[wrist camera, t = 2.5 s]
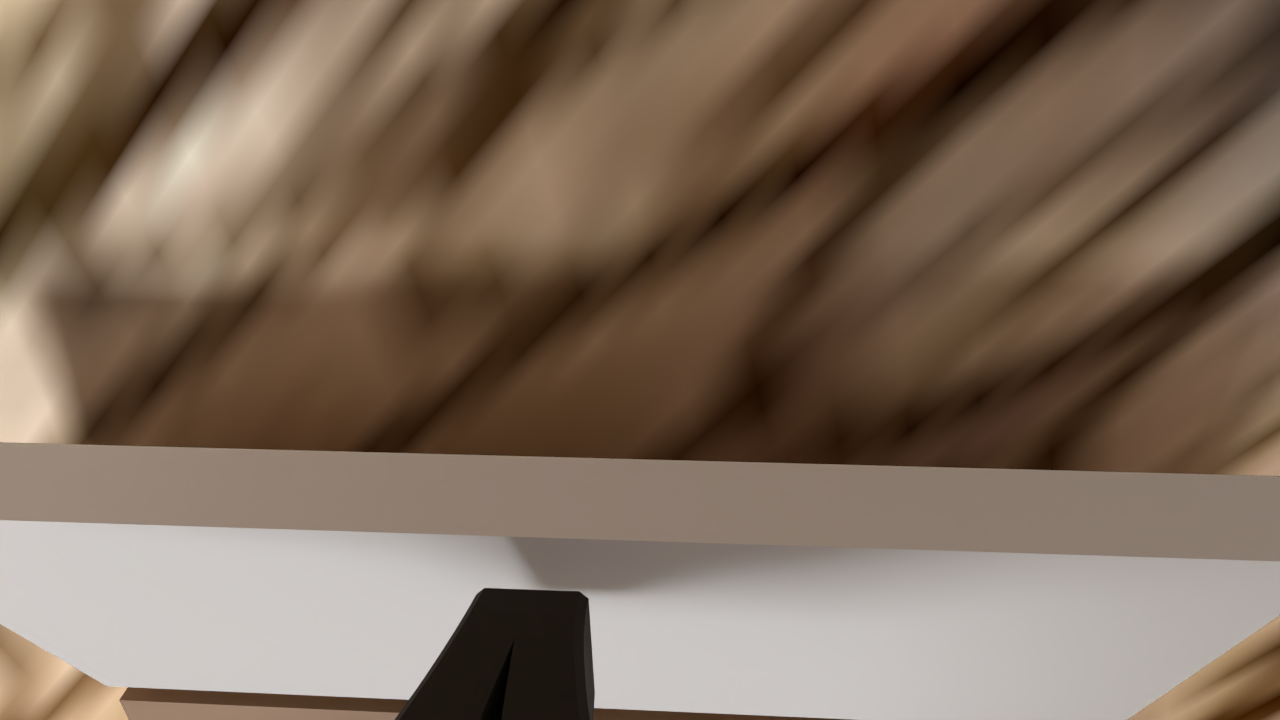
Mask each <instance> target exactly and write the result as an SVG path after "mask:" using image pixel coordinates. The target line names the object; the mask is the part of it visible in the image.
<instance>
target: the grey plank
mask: <svg viewBox="0 0 1280 720" xmlns="http://www.w3.org/2000/svg"><path fill="white" fill-rule="evenodd" d="M484 588H500V589H528V590H556V591H580V592H581V593H582V594H584V595H585V596H586V597H587V598H589V612H590V627H591V642H592V658H593V673H594V688H595V699H594V708H604V709H627V710H649V711H672V712H694V713H717V714H739V715H762V716H784V717H806V718H829V719H851V720H1127V719H1129V718H1130V717H1132V716H1133V715H1135V714H1136V713H1138V712H1139V711H1141V710H1142V709H1144V708H1145V707H1146V706H1148V705H1149V704H1151V703H1152V702H1154V701H1155V700H1157V699H1158V698H1160V697H1161V696H1163V695H1164V694H1166V693H1167V692H1168V691H1170V690H1171V689H1173V688H1174V687H1176V686H1177V685H1179V684H1180V683H1182V682H1183V681H1185V680H1186V679H1187V678H1189V677H1190V676H1192V675H1193V674H1195V673H1196V672H1198V671H1199V670H1201V669H1202V668H1204V667H1205V666H1206V665H1208V664H1209V663H1211V662H1212V661H1214V660H1215V659H1217V658H1218V657H1220V656H1221V655H1223V654H1224V653H1225V652H1227V651H1228V650H1230V649H1231V648H1233V647H1234V646H1236V645H1237V644H1239V643H1240V642H1242V641H1243V640H1244V639H1246V638H1247V637H1249V636H1250V635H1252V634H1253V633H1255V632H1256V631H1258V630H1259V629H1261V628H1262V627H1264V626H1265V625H1266V624H1268V623H1269V622H1271V621H1272V620H1274V619H1275V618H1277V617H1278V616H1280V476H1255V475H1217V474H1179V473H1141V472H1103V471H1065V470H1028V469H990V468H952V467H914V466H876V465H838V464H800V463H762V462H724V461H686V460H648V459H610V458H572V457H535V456H497V455H459V454H421V453H383V452H345V451H307V450H269V449H231V448H193V447H155V446H117V445H79V444H42V443H4V442H0V624H1V625H3V626H5V627H6V628H8V629H10V630H12V631H13V632H15V633H17V634H18V635H20V636H22V637H24V638H25V639H27V640H29V641H30V642H32V643H34V644H36V645H37V646H39V647H41V648H42V649H44V650H46V651H48V652H49V653H51V654H53V655H54V656H56V657H58V658H60V659H61V660H63V661H65V662H66V663H68V664H70V665H72V666H73V667H75V668H77V669H78V670H80V671H82V672H84V673H85V674H87V675H89V676H90V677H92V678H94V679H96V680H97V681H99V682H101V683H102V684H104V685H106V686H111V687H133V688H156V689H178V690H201V691H223V692H245V693H268V694H290V695H313V696H335V697H358V698H380V699H403V700H409V699H410V697H411V696H412V694H413V693H414V692H415V690H416V689H417V687H418V686H419V685H420V683H421V682H422V680H423V679H424V677H425V676H426V674H427V673H428V671H429V670H430V668H431V667H432V665H433V664H434V662H435V661H436V659H437V658H438V656H439V655H440V653H441V652H442V650H443V649H444V647H445V646H446V644H447V642H448V641H449V639H450V638H451V636H452V634H453V633H454V631H455V630H456V628H457V626H458V625H459V623H460V621H461V620H462V618H463V617H464V615H465V613H466V612H467V610H468V608H469V606H470V605H471V603H472V601H473V599H474V598H475V596H476V594H477V593H479V592H480V591H481V590H482V589H484Z"/></svg>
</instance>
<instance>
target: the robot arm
mask: <svg viewBox="0 0 1280 720" xmlns="http://www.w3.org/2000/svg"><path fill="white" fill-rule="evenodd" d="M594 699H595V688H594V673H593V658H592V642H591V627H590V612H589V598H587V597H586V596H585V595H584V594H582V593H581V592H580V591H556V590H528V589H500V588H484V589H482V590H481V591H480V592H479V593H477V594H476V596H475V598H474V599H473V601H472V603H471V605H470V606H469V608H468V610H467V612H466V613H465V615H464V617H463V618H462V620H461V621H460V623H459V625H458V626H457V628H456V630H455V631H454V633H453V634H452V636H451V638H450V639H449V641H448V642H447V644H446V646H445V647H444V649H443V650H442V652H441V653H440V655H439V656H438V658H437V659H436V661H435V662H434V664H433V665H432V667H431V668H430V670H429V671H428V673H427V674H426V676H425V677H424V679H423V680H422V682H421V683H420V685H419V686H418V687H417V689H416V690H415V692H414V693H413V694H412V696H411V697H410V699H409V700H408V701H407V703H406V704H405V706H404V707H403V709H402V710H401V711H400V713H399V714H398V716H397V717H396V718H395V720H593V716H594Z"/></svg>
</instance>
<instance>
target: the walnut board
mask: <svg viewBox="0 0 1280 720" xmlns="http://www.w3.org/2000/svg"><path fill="white" fill-rule="evenodd" d="M407 701H408V700H403V699H380V698H358V697H335V696H313V695H290V694H268V693H245V692H223V691H201V690H178V689H156V688H133V687H128V688H127V690H126V691H125V693H124V694H123V696H122V697H121V699H120V702H121V704H122V707H123V709H124V711H125V713H126V715H127V717H128V719H129V720H395V718H396V717H397V716H398V714H399V713H400V711H401V710H402V709H403V707H404V706H405V704H406V703H407ZM593 720H851V719H829V718H806V717H784V716H762V715H739V714H717V713H694V712H672V711H649V710H627V709H604V708H594V716H593Z"/></svg>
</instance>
